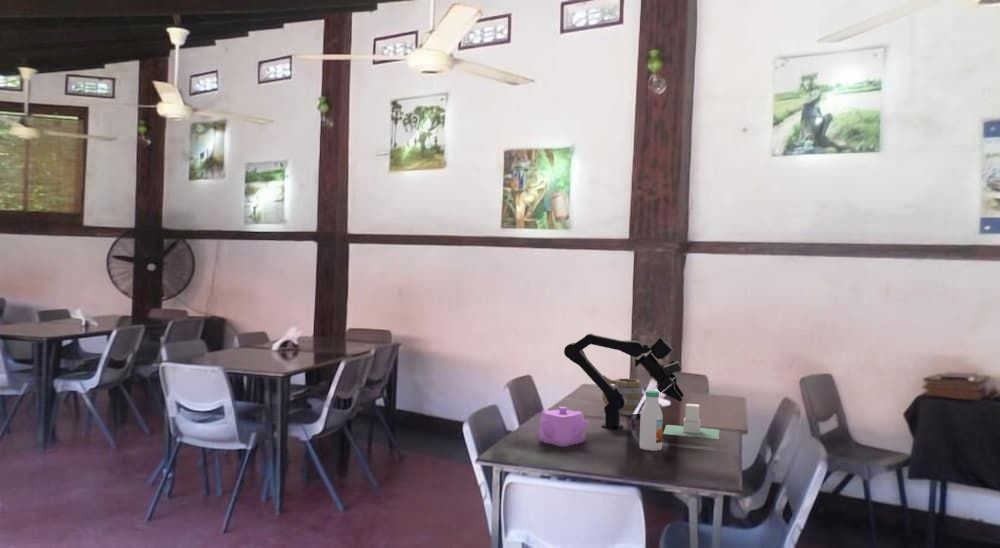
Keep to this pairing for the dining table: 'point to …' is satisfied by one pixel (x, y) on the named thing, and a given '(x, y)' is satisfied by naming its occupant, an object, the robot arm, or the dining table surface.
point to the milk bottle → (651, 423)
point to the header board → (703, 433)
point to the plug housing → (692, 419)
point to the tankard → (627, 393)
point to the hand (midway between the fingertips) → (682, 398)
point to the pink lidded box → (562, 426)
